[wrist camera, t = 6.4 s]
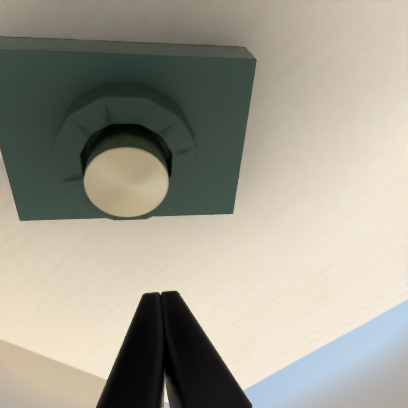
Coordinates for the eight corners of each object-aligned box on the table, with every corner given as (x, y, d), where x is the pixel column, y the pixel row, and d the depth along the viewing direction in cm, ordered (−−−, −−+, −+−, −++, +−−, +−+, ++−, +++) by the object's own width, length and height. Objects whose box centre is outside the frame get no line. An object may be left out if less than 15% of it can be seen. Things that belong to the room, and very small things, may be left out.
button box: (245, 46, 19) (268, 71, 16) (225, 193, 24) (239, 233, 21) (-11, 35, 17) (-44, 61, 14) (28, 198, 22) (10, 243, 19)
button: (166, 126, 17) (170, 147, 15) (165, 191, 19) (168, 216, 17) (84, 125, 16) (78, 147, 15) (92, 193, 19) (88, 219, 17)
